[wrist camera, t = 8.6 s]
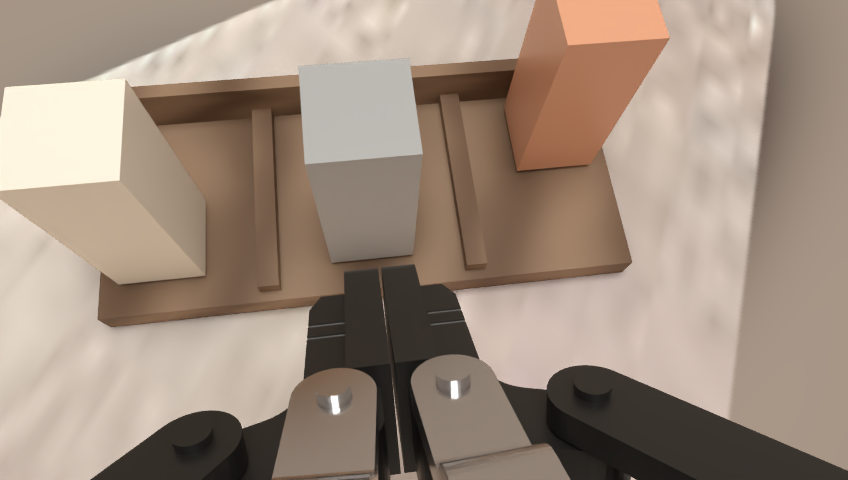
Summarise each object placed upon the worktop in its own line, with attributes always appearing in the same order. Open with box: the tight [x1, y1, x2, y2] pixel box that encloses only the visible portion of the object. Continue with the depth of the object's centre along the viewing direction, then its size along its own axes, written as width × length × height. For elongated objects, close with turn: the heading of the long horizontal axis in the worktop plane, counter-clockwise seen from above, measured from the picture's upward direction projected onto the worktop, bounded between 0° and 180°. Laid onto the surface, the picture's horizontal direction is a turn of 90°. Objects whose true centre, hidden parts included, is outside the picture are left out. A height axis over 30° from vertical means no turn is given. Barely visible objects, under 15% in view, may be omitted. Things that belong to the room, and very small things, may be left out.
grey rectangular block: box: [298, 58, 423, 263], centre depth 26 cm, size 4×4×10 cm
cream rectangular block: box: [0, 79, 206, 285], centre depth 25 cm, size 4×4×10 cm
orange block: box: [504, 0, 670, 171], centre depth 29 cm, size 4×4×10 cm
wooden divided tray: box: [98, 59, 632, 327], centre depth 31 cm, size 26×11×4 cm, turn 97°
